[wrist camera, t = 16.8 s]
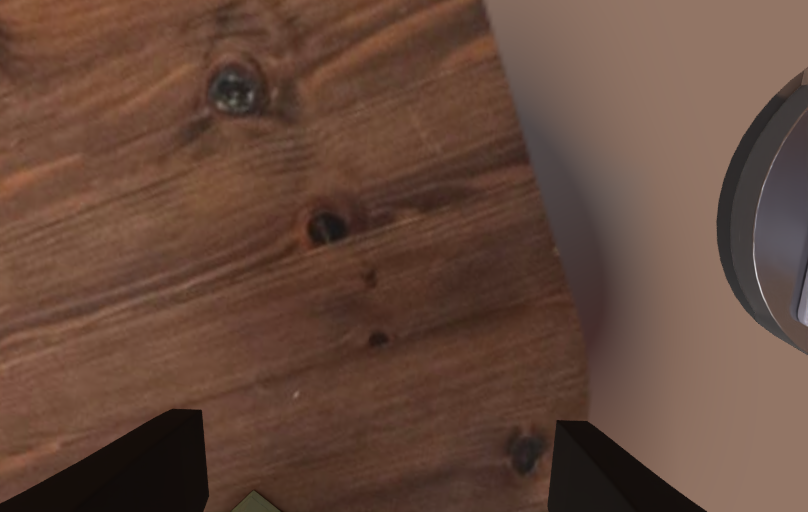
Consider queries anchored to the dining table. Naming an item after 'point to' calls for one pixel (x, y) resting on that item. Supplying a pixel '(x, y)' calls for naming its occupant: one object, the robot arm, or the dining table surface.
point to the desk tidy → (255, 504)
